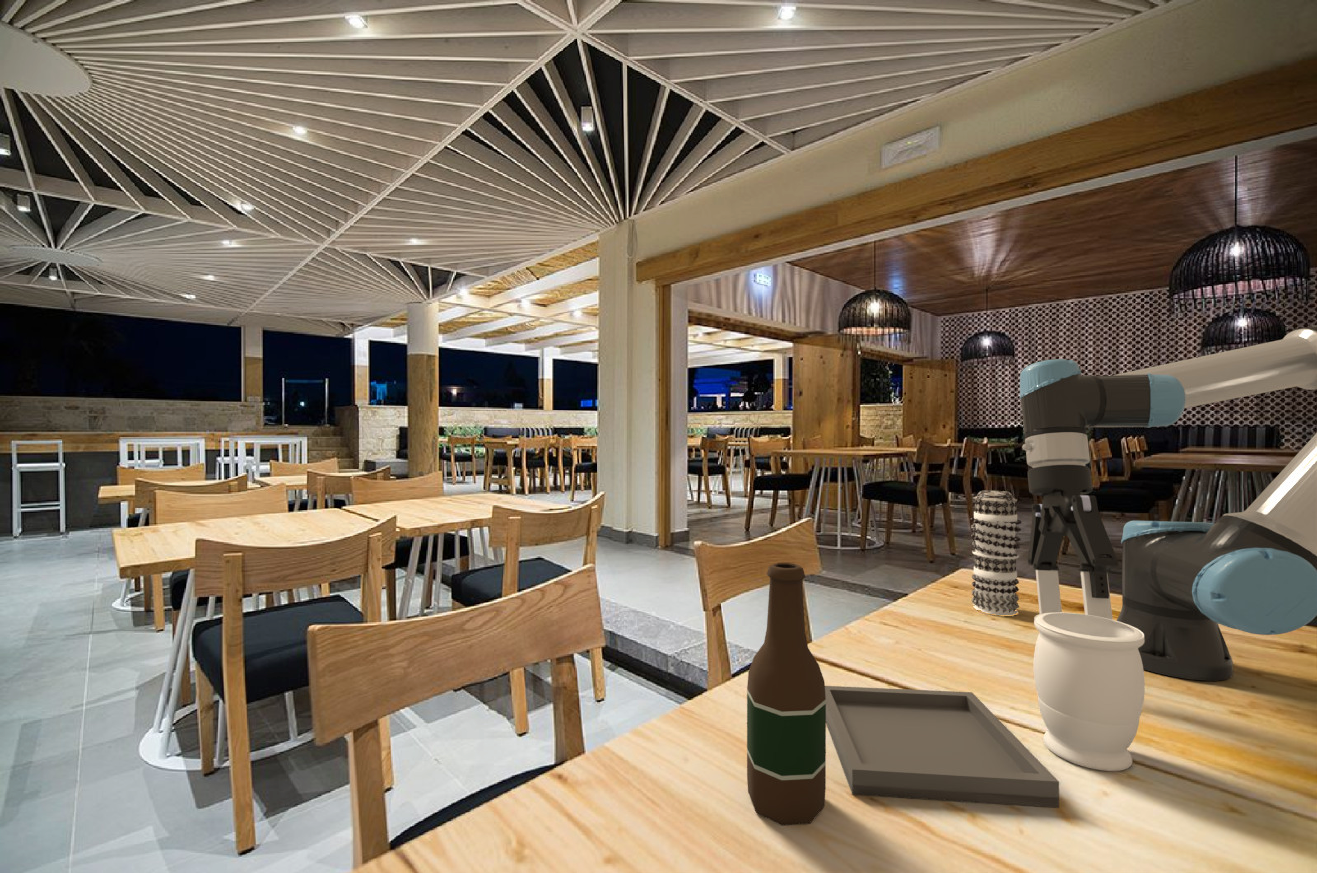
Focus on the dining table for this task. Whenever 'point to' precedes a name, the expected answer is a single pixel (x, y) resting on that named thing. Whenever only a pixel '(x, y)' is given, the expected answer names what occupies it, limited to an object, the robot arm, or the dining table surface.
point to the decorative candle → (995, 553)
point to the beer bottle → (786, 711)
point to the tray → (932, 748)
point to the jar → (1089, 687)
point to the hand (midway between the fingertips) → (1073, 620)
